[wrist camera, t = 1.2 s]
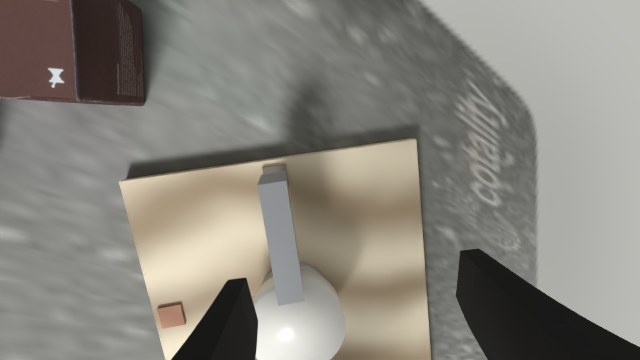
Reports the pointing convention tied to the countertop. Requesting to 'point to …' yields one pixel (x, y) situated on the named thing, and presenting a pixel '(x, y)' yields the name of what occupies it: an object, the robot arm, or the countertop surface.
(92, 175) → the countertop surface
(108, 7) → the box
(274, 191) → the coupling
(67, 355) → the countertop surface
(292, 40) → the countertop surface
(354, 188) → the post board
